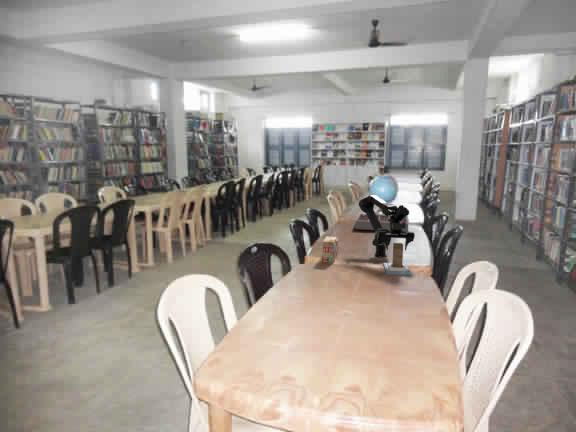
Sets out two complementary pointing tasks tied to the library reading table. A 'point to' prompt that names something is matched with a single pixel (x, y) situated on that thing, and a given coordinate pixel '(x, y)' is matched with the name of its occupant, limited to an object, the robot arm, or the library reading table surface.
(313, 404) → the library reading table surface
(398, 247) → the walnut column
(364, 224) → the organizer tray
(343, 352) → the library reading table surface
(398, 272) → the blueprint board
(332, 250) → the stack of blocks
